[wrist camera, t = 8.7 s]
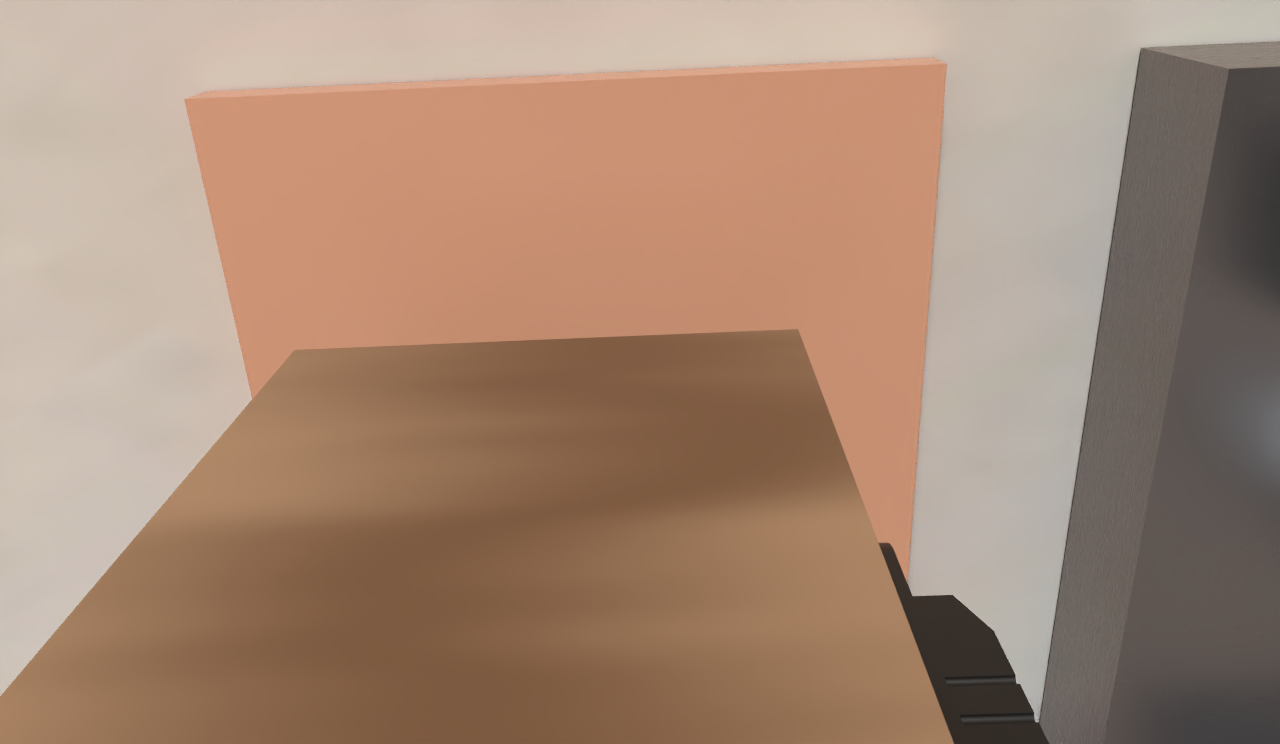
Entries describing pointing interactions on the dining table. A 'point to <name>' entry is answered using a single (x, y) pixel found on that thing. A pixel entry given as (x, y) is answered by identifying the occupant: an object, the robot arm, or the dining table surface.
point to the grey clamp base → (1182, 426)
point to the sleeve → (502, 563)
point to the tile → (599, 223)
